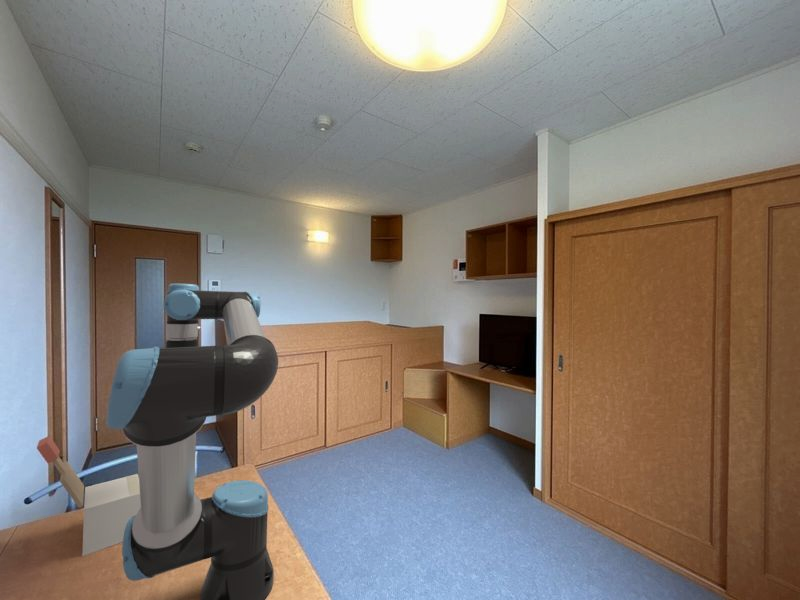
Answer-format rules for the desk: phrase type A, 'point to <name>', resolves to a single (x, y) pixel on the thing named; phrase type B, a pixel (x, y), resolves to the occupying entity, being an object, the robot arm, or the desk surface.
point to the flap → (62, 470)
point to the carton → (109, 512)
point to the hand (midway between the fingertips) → (179, 415)
